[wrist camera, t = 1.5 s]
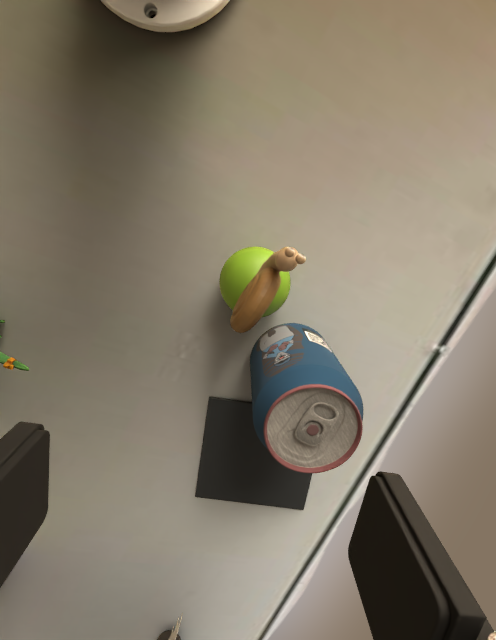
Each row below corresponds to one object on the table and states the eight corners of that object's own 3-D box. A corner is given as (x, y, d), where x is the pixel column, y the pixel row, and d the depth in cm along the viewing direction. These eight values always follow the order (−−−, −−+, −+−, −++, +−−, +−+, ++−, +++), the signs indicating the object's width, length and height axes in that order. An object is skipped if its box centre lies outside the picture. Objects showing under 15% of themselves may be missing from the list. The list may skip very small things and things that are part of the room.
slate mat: (209, 396, 33) (209, 398, 33) (325, 412, 34) (326, 413, 34) (195, 494, 36) (195, 496, 36) (303, 507, 37) (303, 510, 37)
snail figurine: (305, 256, 30) (343, 278, 18) (264, 320, 31) (276, 378, 20) (249, 221, 29) (252, 221, 18) (210, 288, 31) (189, 329, 19)
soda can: (301, 403, 34) (331, 499, 22) (235, 370, 33) (231, 452, 21) (342, 342, 32) (397, 410, 21) (274, 305, 31) (293, 355, 20)
